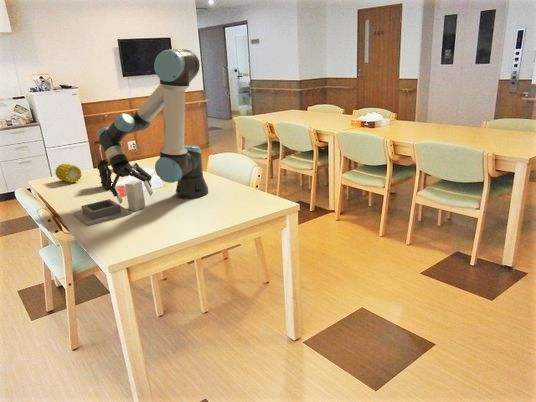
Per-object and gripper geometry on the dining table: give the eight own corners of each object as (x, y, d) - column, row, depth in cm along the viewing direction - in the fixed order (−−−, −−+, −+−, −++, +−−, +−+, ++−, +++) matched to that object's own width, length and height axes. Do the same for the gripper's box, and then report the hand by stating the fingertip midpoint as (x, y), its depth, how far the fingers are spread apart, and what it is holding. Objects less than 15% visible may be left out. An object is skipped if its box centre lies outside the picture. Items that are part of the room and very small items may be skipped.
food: (56, 181, 231) (52, 163, 228) (78, 177, 237) (75, 159, 234) (60, 186, 219) (56, 168, 216) (84, 182, 225) (80, 164, 222)
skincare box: (138, 205, 184) (134, 179, 180) (146, 206, 182) (142, 180, 178) (128, 210, 178) (124, 183, 174) (136, 211, 177) (132, 184, 173)
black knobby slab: (107, 189, 205) (99, 160, 206) (103, 194, 216) (96, 167, 217) (114, 187, 207) (107, 159, 208) (111, 192, 218) (103, 165, 219)
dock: (114, 204, 187) (113, 196, 186) (131, 214, 174) (129, 205, 173) (73, 215, 176) (71, 206, 175) (87, 226, 163) (85, 216, 162)
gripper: (142, 158, 194) (161, 195, 188) (87, 168, 178) (106, 209, 172) (145, 148, 188) (165, 186, 182) (89, 158, 173) (109, 200, 167)
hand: (136, 197), depth 177 cm, fingers open, 13 cm apart
